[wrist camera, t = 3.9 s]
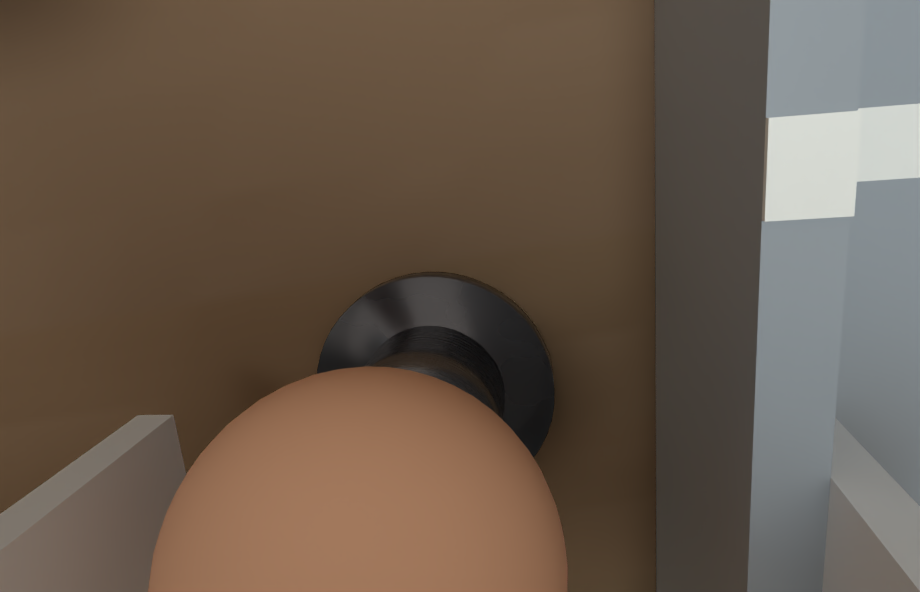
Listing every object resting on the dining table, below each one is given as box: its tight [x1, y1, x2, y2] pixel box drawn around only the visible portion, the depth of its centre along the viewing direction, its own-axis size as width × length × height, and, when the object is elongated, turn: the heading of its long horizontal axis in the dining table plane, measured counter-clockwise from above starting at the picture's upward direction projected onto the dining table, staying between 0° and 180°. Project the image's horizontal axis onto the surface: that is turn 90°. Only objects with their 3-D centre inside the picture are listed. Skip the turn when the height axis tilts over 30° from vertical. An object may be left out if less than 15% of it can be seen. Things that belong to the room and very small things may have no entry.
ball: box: [148, 366, 568, 592], centre depth 10 cm, size 6×6×6 cm
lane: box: [655, 0, 920, 592], centre depth 13 cm, size 10×42×14 cm, turn 5°
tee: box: [317, 272, 554, 458], centre depth 14 cm, size 6×6×4 cm
